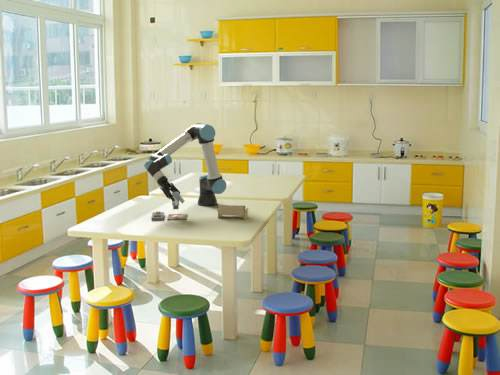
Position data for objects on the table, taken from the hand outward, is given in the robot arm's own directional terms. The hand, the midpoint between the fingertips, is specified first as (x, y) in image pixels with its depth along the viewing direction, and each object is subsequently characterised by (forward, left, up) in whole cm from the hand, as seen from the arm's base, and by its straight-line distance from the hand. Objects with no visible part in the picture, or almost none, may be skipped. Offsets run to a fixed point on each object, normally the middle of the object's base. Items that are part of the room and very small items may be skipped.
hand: (180, 203), depth 453 cm
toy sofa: (-36, 0, -12) cm, 38 cm away
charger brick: (+4, -3, -4) cm, 6 cm away
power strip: (+16, -2, -12) cm, 20 cm away
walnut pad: (+3, -2, -11) cm, 12 cm away
